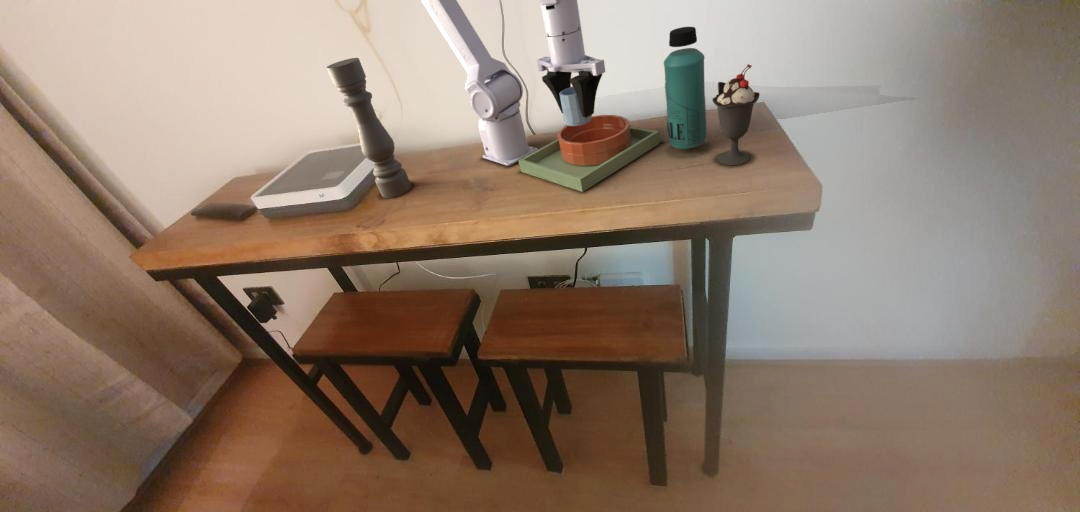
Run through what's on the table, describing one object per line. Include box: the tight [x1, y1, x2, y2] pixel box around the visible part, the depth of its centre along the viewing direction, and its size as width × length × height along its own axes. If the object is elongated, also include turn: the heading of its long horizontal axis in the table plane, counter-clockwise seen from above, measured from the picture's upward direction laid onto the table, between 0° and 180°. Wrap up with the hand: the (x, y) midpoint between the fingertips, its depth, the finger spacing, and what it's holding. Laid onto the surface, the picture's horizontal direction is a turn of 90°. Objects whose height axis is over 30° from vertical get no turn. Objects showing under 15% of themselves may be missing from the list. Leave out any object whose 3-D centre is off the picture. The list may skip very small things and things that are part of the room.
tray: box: [518, 126, 661, 193], centre depth 90 cm, size 17×20×2 cm
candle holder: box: [326, 57, 412, 199], centre depth 90 cm, size 6×6×25 cm
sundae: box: [711, 64, 761, 166], centre depth 74 cm, size 7×7×15 cm
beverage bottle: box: [663, 26, 708, 150], centre depth 79 cm, size 6×7×20 cm
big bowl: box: [557, 114, 632, 166], centre depth 90 cm, size 13×13×5 cm
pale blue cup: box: [559, 86, 593, 126], centre depth 84 cm, size 5×5×6 cm
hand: (577, 113), depth 85 cm, fingers closed on pale blue cup, 5 cm apart
